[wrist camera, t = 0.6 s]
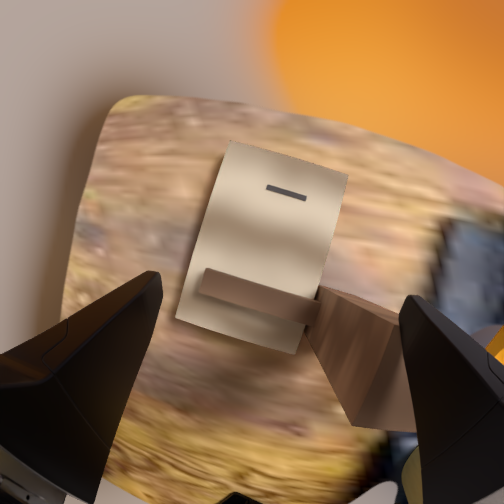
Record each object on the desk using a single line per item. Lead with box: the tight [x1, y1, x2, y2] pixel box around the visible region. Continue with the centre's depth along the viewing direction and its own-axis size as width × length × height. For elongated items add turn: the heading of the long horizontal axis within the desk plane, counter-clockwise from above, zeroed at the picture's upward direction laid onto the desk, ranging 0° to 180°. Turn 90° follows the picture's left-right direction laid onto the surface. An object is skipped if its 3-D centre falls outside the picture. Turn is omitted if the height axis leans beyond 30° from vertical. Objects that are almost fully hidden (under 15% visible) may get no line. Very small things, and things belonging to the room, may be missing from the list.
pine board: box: [175, 140, 348, 355], centre depth 24 cm, size 15×10×3 cm, turn 163°
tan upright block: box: [199, 268, 417, 432], centre depth 17 cm, size 4×12×16 cm, turn 73°
